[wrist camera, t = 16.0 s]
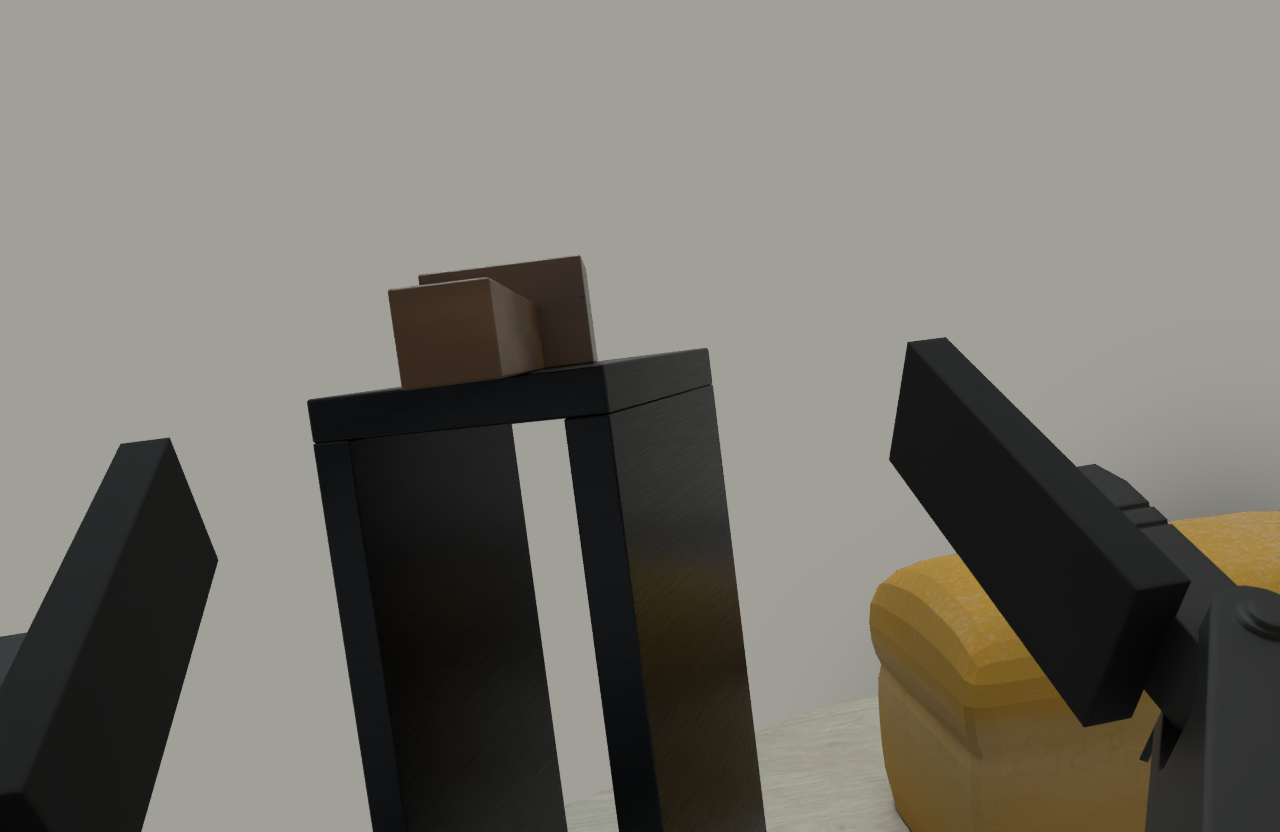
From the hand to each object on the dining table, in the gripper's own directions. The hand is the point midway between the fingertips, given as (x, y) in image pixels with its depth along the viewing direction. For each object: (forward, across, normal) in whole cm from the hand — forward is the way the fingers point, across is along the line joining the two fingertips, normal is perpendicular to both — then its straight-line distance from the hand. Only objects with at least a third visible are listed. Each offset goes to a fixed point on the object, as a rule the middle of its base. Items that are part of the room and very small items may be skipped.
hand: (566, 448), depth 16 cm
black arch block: (+2, 0, -31) cm, 31 cm away
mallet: (+12, -1, -6) cm, 14 cm away
